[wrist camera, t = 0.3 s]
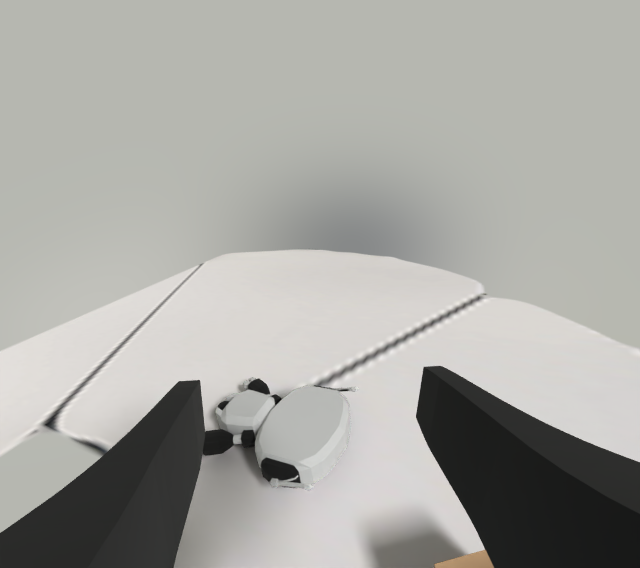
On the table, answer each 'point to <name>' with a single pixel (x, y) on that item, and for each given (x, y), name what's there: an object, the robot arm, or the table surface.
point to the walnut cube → (468, 561)
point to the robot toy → (285, 431)
